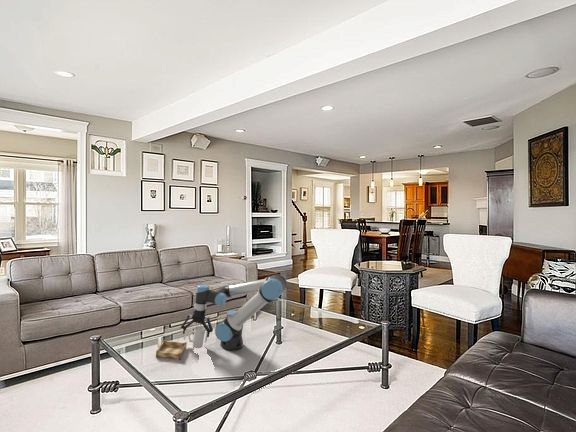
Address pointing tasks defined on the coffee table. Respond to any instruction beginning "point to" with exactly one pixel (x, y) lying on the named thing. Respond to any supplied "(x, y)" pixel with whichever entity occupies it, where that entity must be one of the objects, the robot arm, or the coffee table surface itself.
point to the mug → (197, 336)
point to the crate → (171, 350)
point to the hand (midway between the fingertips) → (195, 340)
